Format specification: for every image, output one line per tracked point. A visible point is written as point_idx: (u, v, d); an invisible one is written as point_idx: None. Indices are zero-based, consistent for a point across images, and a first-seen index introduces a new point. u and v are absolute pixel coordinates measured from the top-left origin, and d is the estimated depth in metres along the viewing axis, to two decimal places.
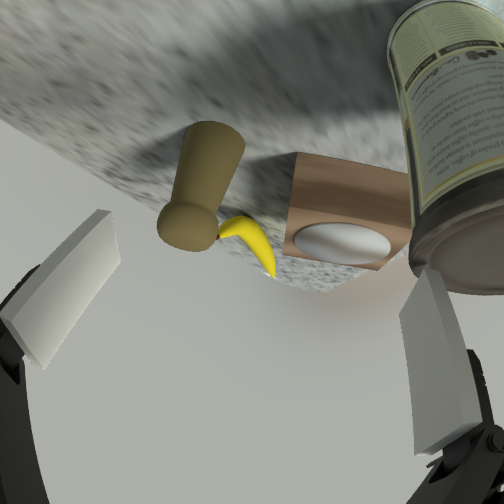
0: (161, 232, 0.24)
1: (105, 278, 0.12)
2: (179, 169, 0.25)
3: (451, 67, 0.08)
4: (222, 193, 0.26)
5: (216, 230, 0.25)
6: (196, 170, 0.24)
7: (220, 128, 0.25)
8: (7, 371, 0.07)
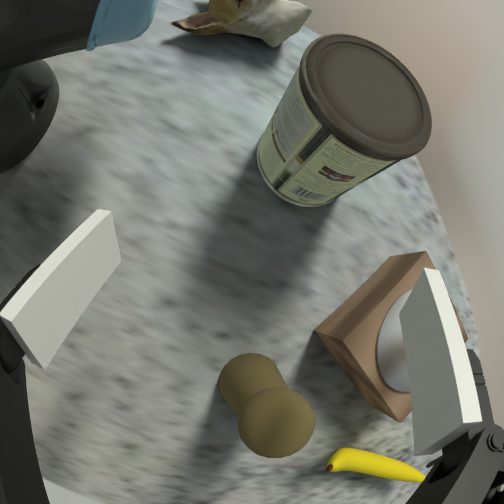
0: (251, 433, 0.16)
1: (106, 278, 0.12)
2: (232, 399, 0.22)
3: (276, 120, 0.22)
4: (285, 385, 0.22)
5: (304, 398, 0.19)
6: (246, 381, 0.22)
7: (242, 356, 0.27)
8: (7, 371, 0.07)
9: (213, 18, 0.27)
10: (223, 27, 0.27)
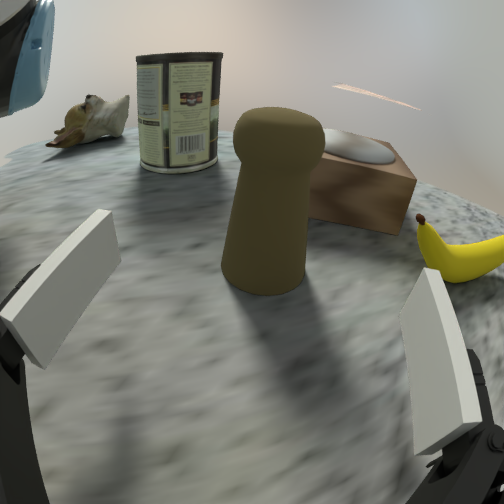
0: (253, 117, 0.15)
1: (106, 278, 0.12)
2: (238, 216, 0.18)
3: (140, 110, 0.30)
4: None
5: None
6: None
7: None
8: (7, 371, 0.07)
9: (72, 130, 0.39)
10: (81, 130, 0.39)
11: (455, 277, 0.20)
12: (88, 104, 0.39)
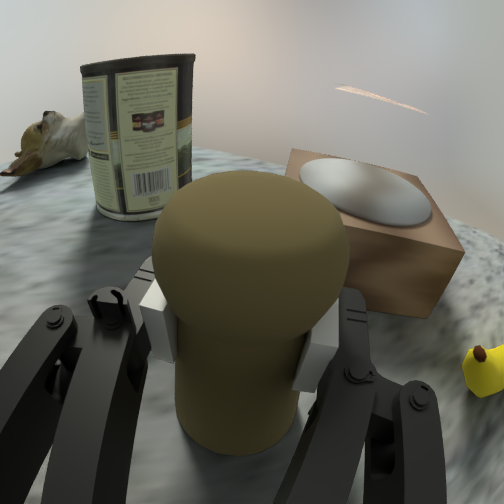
0: (179, 226, 0.06)
1: None
2: (183, 374, 0.10)
3: (87, 138, 0.22)
4: None
5: None
6: None
7: None
8: None
9: (28, 155, 0.31)
10: (36, 155, 0.31)
11: (498, 391, 0.12)
12: (45, 123, 0.31)
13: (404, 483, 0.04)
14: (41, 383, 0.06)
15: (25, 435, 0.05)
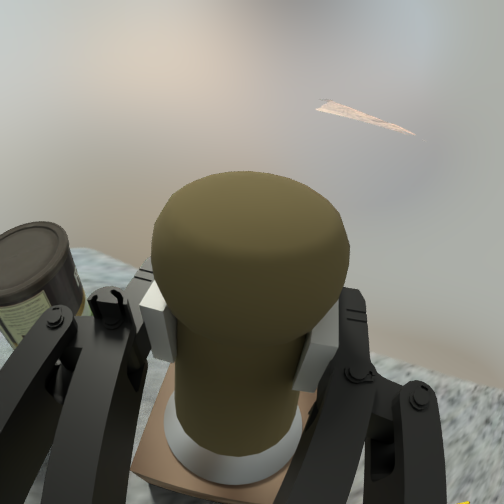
0: (179, 227, 0.06)
1: None
2: (182, 375, 0.10)
3: None
4: None
5: None
6: None
7: None
8: None
9: None
10: None
11: None
12: None
13: (404, 483, 0.04)
14: (41, 383, 0.06)
15: (25, 435, 0.05)
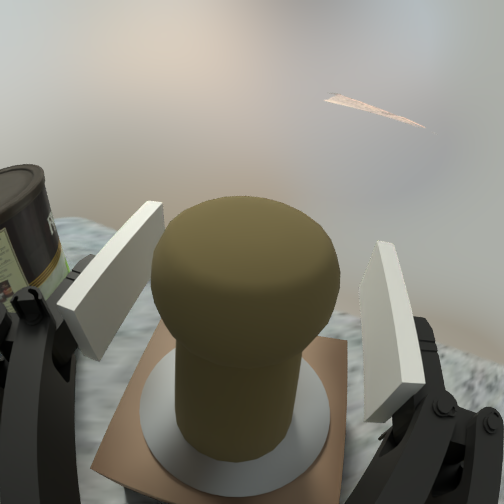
0: (176, 259, 0.07)
1: None
2: (182, 387, 0.10)
3: None
4: None
5: None
6: None
7: None
8: (56, 366, 0.08)
9: None
10: None
11: None
12: None
13: (467, 497, 0.04)
14: None
15: None
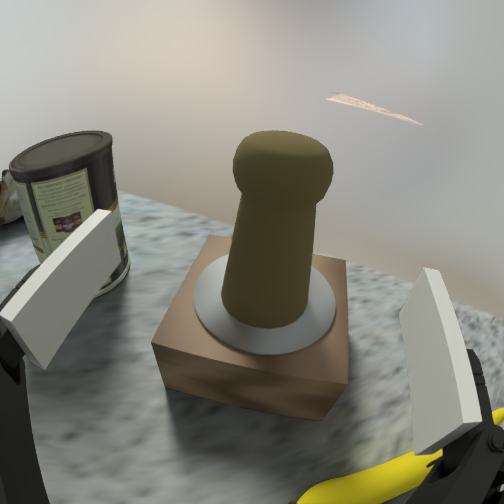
0: (254, 146, 0.14)
1: (106, 278, 0.12)
2: (238, 249, 0.17)
3: None
4: None
5: None
6: None
7: None
8: (7, 371, 0.07)
9: None
10: None
11: None
12: (3, 183, 0.32)
13: None
14: None
15: None
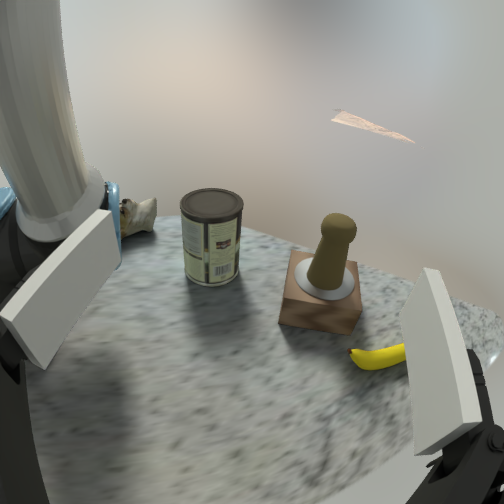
0: (332, 224, 0.41)
1: (106, 278, 0.12)
2: (320, 258, 0.44)
3: (186, 245, 0.50)
4: None
5: None
6: (317, 248, 0.45)
7: None
8: (7, 371, 0.07)
9: None
10: (124, 232, 0.59)
11: (375, 368, 0.40)
12: (125, 209, 0.59)
13: None
14: None
15: None
